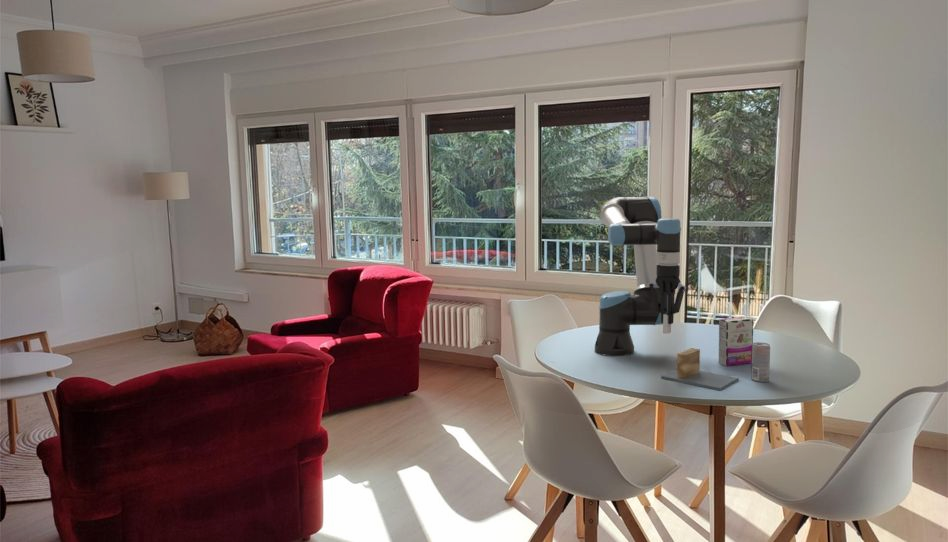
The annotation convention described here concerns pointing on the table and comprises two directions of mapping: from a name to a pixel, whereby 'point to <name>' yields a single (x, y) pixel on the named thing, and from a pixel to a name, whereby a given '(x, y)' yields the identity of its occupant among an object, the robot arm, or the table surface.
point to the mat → (704, 379)
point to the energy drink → (760, 362)
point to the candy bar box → (735, 341)
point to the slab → (688, 363)
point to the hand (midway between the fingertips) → (667, 332)
